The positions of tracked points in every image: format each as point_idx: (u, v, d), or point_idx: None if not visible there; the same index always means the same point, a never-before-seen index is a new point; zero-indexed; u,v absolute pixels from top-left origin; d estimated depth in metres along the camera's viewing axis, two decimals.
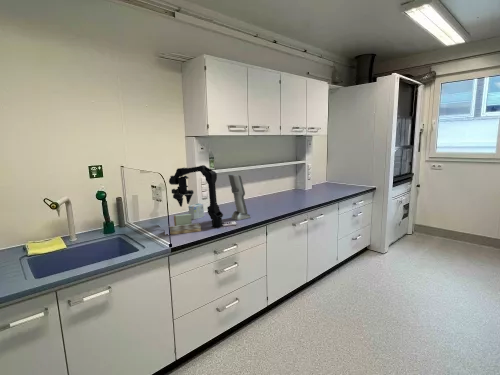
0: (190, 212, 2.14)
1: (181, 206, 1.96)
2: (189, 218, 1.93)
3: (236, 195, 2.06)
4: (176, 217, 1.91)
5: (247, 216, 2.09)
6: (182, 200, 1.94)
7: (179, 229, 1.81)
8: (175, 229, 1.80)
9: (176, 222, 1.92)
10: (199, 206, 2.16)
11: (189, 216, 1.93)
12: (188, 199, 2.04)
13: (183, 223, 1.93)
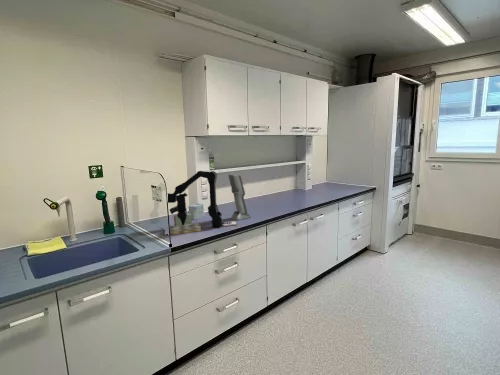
0: (190, 212, 2.14)
1: (183, 224, 1.89)
2: (189, 218, 1.93)
3: (236, 195, 2.06)
4: (176, 217, 1.91)
5: (247, 216, 2.09)
6: (185, 218, 1.88)
7: (179, 229, 1.81)
8: (175, 229, 1.80)
9: (176, 222, 1.92)
10: (199, 206, 2.16)
11: (189, 216, 1.93)
12: None
13: None
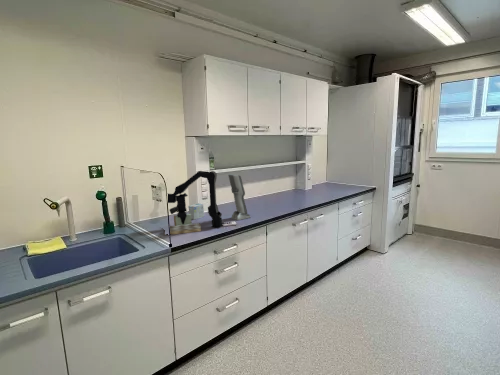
0: (190, 212, 2.14)
1: (183, 223, 1.93)
2: (189, 218, 1.93)
3: (236, 195, 2.06)
4: (176, 217, 1.91)
5: (247, 216, 2.09)
6: (185, 217, 1.92)
7: (179, 229, 1.81)
8: (175, 229, 1.80)
9: (176, 222, 1.92)
10: (199, 206, 2.16)
11: (189, 216, 1.93)
12: None
13: None
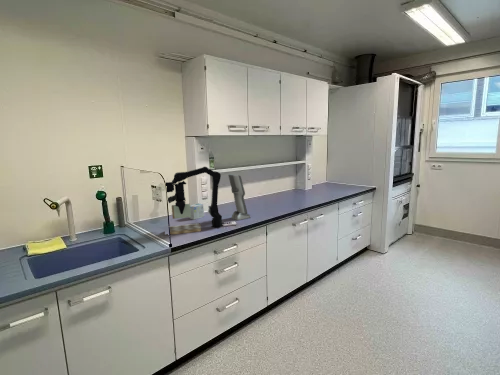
0: None
1: (182, 213, 1.82)
2: (188, 208, 1.82)
3: (236, 195, 2.06)
4: (174, 207, 1.80)
5: (247, 216, 2.09)
6: (184, 206, 1.81)
7: (179, 229, 1.81)
8: (175, 229, 1.80)
9: (174, 212, 1.81)
10: (199, 206, 2.16)
11: (188, 206, 1.82)
12: None
13: (181, 214, 1.82)
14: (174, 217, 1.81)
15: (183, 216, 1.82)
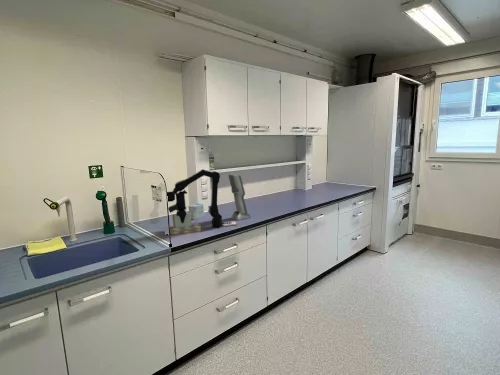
0: (190, 212, 2.14)
1: (183, 222, 1.82)
2: (189, 217, 1.83)
3: (236, 195, 2.06)
4: (175, 216, 1.81)
5: (247, 216, 2.09)
6: None
7: (179, 229, 1.81)
8: (175, 229, 1.80)
9: (175, 221, 1.82)
10: (199, 206, 2.16)
11: (189, 215, 1.83)
12: None
13: (182, 223, 1.83)
14: (175, 226, 1.82)
15: (184, 225, 1.83)
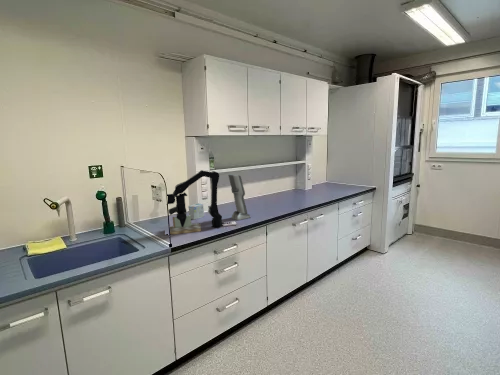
0: (190, 212, 2.14)
1: (183, 226, 1.79)
2: (189, 220, 1.84)
3: (236, 195, 2.06)
4: (175, 219, 1.81)
5: (247, 216, 2.09)
6: (185, 219, 1.78)
7: (179, 229, 1.81)
8: (175, 229, 1.80)
9: (175, 224, 1.82)
10: (199, 206, 2.16)
11: (189, 218, 1.83)
12: None
13: None
14: None
15: None
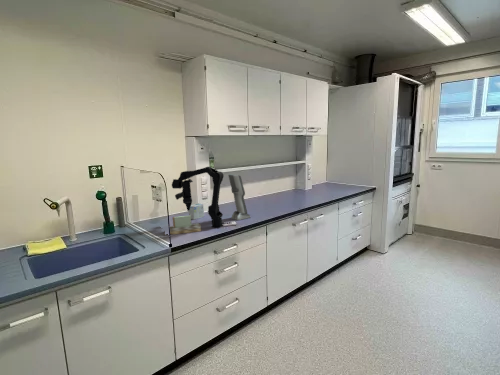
0: (190, 212, 2.14)
1: None
2: (189, 220, 1.84)
3: (236, 195, 2.06)
4: (175, 219, 1.81)
5: (247, 216, 2.09)
6: None
7: (179, 229, 1.81)
8: (175, 229, 1.80)
9: (175, 224, 1.82)
10: (199, 206, 2.16)
11: (189, 218, 1.83)
12: None
13: (182, 225, 1.83)
14: None
15: None
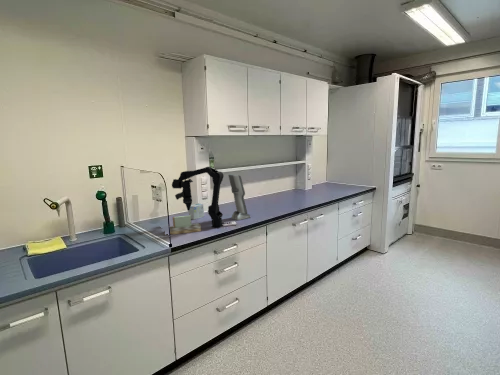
0: (190, 212, 2.14)
1: None
2: (189, 220, 1.84)
3: (236, 195, 2.06)
4: (175, 219, 1.81)
5: (247, 216, 2.09)
6: None
7: (179, 229, 1.81)
8: (175, 229, 1.80)
9: (175, 224, 1.82)
10: (199, 206, 2.16)
11: (189, 218, 1.83)
12: None
13: (182, 225, 1.83)
14: None
15: None
